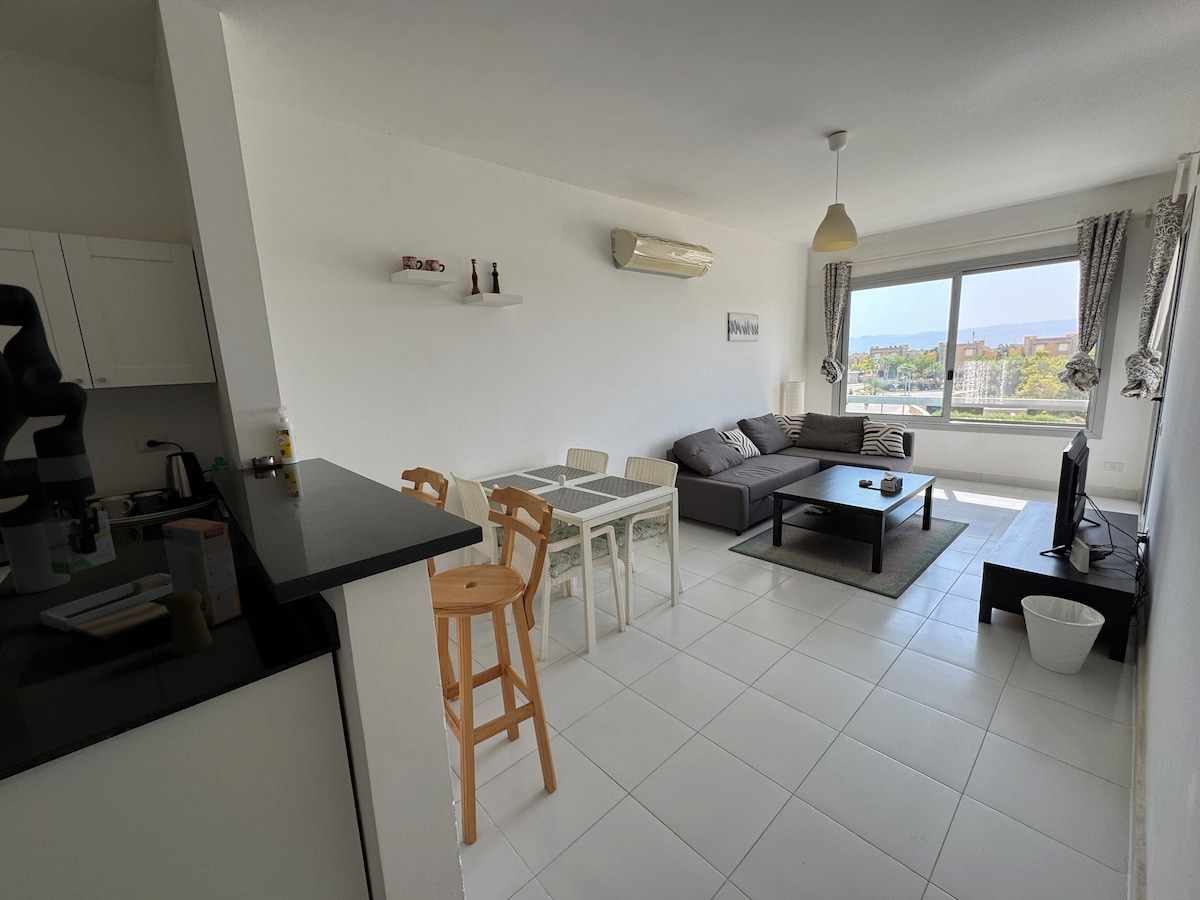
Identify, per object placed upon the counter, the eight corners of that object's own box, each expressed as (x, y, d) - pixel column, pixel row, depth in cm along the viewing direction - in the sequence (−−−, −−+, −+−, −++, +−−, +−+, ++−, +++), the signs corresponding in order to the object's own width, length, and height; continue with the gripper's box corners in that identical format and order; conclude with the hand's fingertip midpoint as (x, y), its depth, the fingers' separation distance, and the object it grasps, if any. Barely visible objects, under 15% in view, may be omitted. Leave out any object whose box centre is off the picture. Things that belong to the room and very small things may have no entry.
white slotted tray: (41, 623, 104) (38, 612, 103) (162, 582, 123) (160, 572, 123) (67, 632, 99) (65, 621, 99) (189, 588, 119) (187, 578, 119)
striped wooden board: (73, 630, 100) (72, 626, 100) (145, 604, 111) (144, 600, 111) (103, 641, 95) (102, 636, 95) (175, 612, 106) (174, 608, 106)
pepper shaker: (178, 659, 88) (167, 603, 86) (166, 650, 91) (155, 596, 89) (218, 643, 93) (208, 589, 91) (205, 635, 96) (195, 583, 94)
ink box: (100, 558, 111) (90, 508, 109) (117, 559, 110) (107, 509, 108) (51, 573, 102) (39, 520, 100) (70, 575, 101) (58, 521, 99)
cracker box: (244, 614, 104) (228, 521, 101) (212, 628, 99) (195, 530, 96) (208, 603, 110) (192, 515, 107) (176, 615, 105) (158, 523, 101)
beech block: (134, 597, 115) (131, 581, 115) (155, 590, 119) (152, 574, 118) (143, 599, 114) (140, 583, 113) (164, 592, 117) (161, 576, 117)
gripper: (25, 477, 102) (42, 553, 105) (58, 482, 96) (75, 562, 99) (74, 470, 109) (89, 541, 112) (107, 474, 103) (122, 549, 106)
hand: (82, 551), depth 105 cm, fingers closed on ink box, 5 cm apart
